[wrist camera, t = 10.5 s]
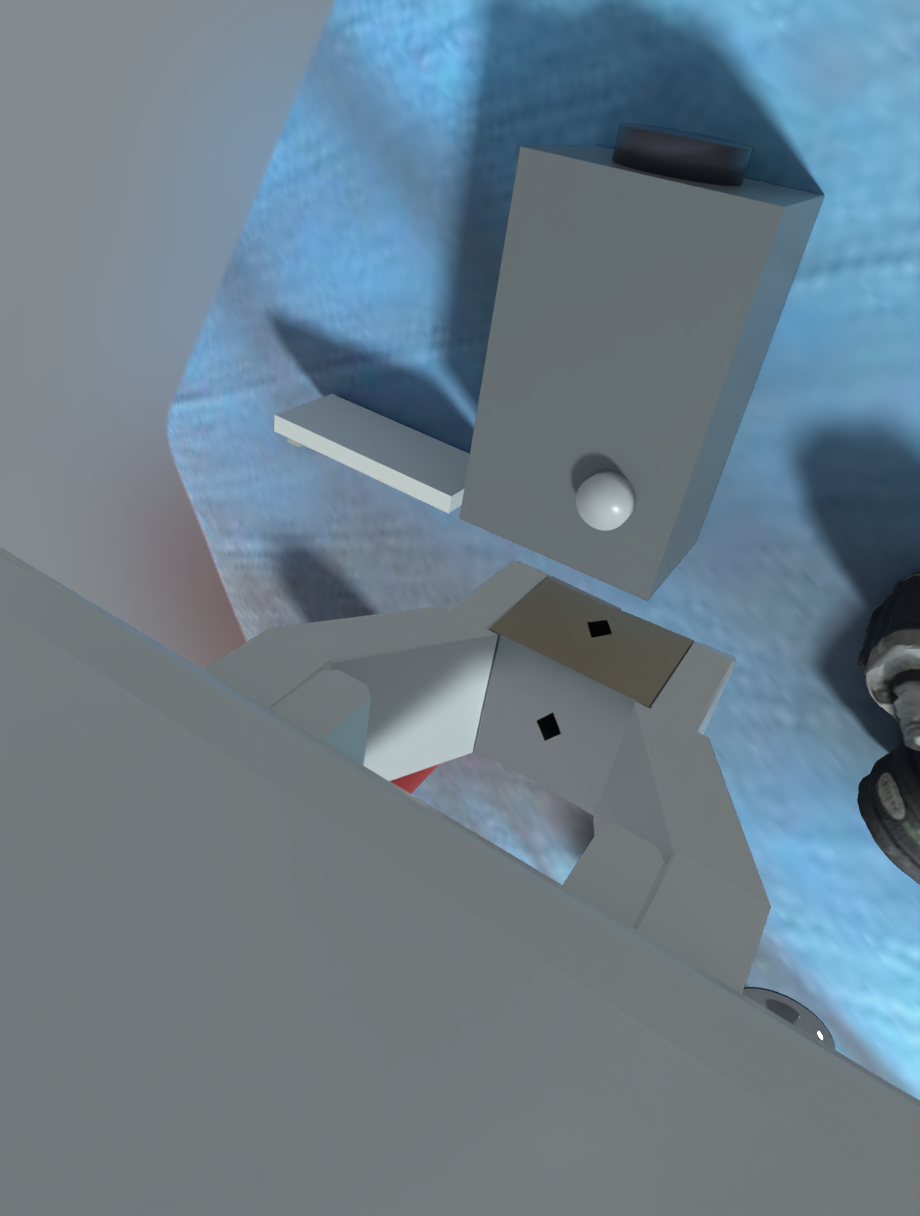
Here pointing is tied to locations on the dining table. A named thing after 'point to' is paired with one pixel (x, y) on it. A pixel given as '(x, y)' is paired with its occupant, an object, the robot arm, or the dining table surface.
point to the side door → (379, 449)
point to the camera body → (627, 346)
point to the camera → (916, 697)
